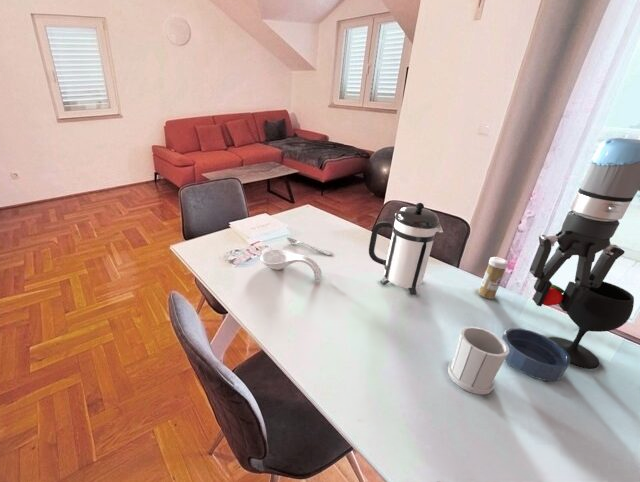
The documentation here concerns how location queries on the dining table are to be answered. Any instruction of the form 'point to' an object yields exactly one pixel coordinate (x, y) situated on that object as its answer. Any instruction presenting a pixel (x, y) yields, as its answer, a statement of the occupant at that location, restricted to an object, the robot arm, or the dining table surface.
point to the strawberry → (553, 296)
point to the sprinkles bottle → (492, 277)
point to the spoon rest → (288, 261)
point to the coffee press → (407, 246)
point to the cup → (477, 360)
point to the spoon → (307, 245)
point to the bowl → (535, 354)
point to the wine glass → (596, 319)
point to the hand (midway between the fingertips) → (549, 305)
